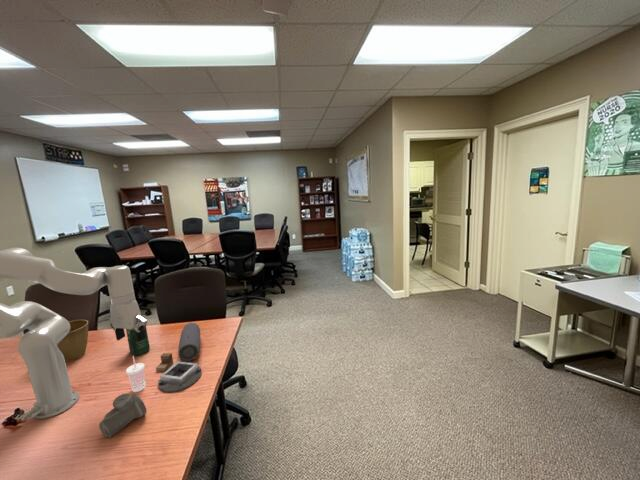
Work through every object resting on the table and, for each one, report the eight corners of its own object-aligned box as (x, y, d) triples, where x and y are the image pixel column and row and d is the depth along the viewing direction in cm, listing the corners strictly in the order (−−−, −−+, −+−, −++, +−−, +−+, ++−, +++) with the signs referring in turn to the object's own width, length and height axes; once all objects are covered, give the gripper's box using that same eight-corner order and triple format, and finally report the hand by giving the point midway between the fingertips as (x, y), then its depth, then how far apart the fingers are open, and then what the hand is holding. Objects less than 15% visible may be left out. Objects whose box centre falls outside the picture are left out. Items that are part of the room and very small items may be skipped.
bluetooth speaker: (201, 360, 128) (198, 340, 126) (178, 366, 124) (175, 345, 123) (202, 337, 149) (199, 319, 147) (183, 341, 145) (180, 323, 143)
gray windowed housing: (183, 394, 106) (181, 385, 105) (149, 389, 110) (147, 380, 110) (209, 368, 121) (208, 360, 121) (178, 364, 125) (177, 356, 125)
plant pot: (46, 364, 131) (38, 333, 128) (81, 346, 145) (74, 318, 142) (68, 368, 127) (60, 336, 124) (101, 350, 141) (95, 321, 138)
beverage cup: (151, 385, 113) (145, 354, 110) (135, 395, 107) (128, 362, 105) (143, 380, 116) (137, 350, 113) (127, 390, 110) (120, 358, 108)
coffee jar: (152, 350, 138) (146, 315, 135) (134, 358, 132) (127, 322, 129) (145, 344, 144) (139, 310, 141) (128, 351, 139) (121, 316, 135)
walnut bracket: (165, 371, 121) (163, 361, 120) (156, 371, 121) (154, 361, 120) (173, 363, 127) (171, 353, 126) (165, 363, 127) (163, 353, 126)
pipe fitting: (137, 406, 101) (130, 384, 98) (150, 415, 97) (142, 393, 94) (99, 434, 91) (90, 411, 88) (111, 446, 87) (102, 422, 84)
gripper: (95, 301, 104) (104, 343, 107) (133, 303, 100) (141, 346, 103) (114, 293, 111) (122, 333, 114) (149, 295, 107) (157, 335, 110)
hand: (131, 339), depth 109 cm, fingers open, 9 cm apart
